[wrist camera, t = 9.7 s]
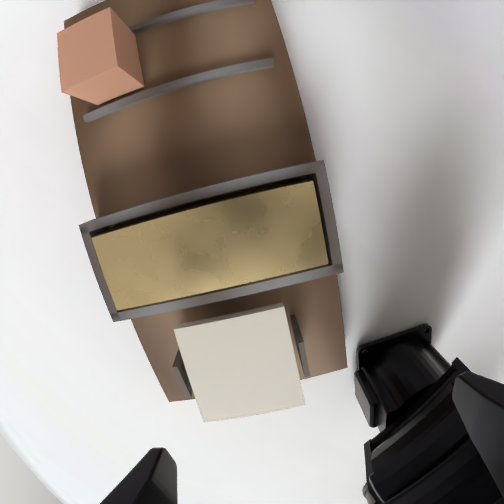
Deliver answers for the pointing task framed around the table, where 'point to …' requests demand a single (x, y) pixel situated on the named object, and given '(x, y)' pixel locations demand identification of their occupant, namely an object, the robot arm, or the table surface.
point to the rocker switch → (241, 363)
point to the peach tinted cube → (99, 58)
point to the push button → (213, 245)
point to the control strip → (208, 164)
